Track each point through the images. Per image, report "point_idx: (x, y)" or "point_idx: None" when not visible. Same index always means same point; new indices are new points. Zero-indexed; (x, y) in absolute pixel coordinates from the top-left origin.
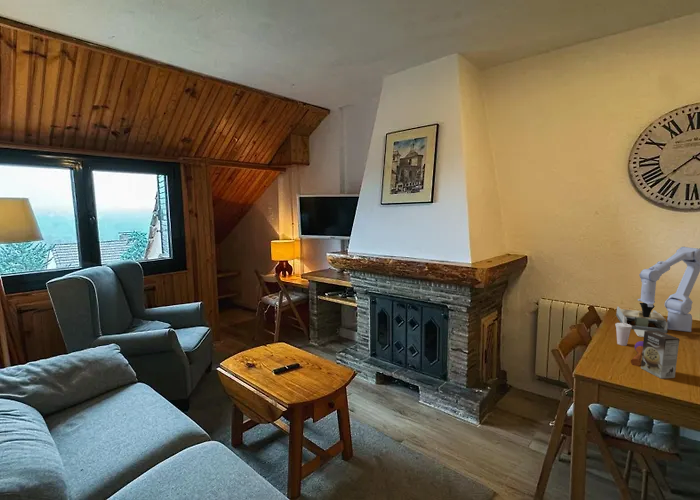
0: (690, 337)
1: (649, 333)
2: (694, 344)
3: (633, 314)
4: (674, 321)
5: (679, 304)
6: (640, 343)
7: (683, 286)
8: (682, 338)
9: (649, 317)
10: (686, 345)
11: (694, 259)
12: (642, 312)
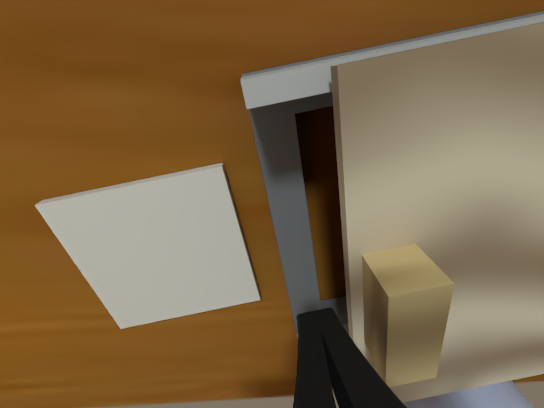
0: (282, 388)
1: None
2: (163, 403)
3: (448, 194)
4: (421, 399)
5: None
6: None
7: None
8: (236, 372)
9: (364, 334)
10: (110, 389)
11: None
12: (350, 353)
